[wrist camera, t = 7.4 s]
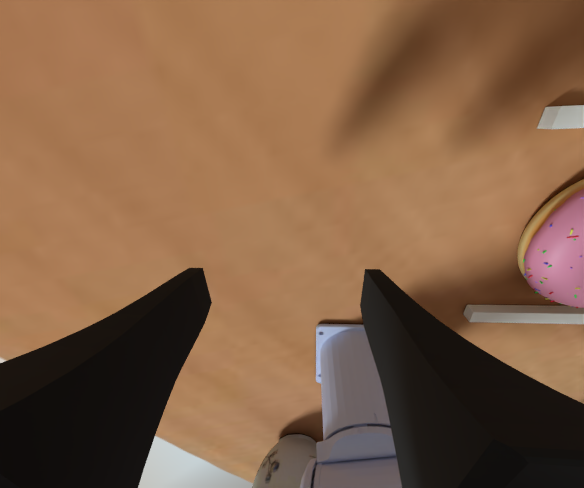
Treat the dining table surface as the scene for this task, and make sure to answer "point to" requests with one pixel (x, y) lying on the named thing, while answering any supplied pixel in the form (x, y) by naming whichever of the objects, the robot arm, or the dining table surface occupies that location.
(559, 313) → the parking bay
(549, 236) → the doughnut
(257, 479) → the teacup
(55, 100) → the dining table surface
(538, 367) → the dining table surface
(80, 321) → the dining table surface
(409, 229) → the dining table surface
